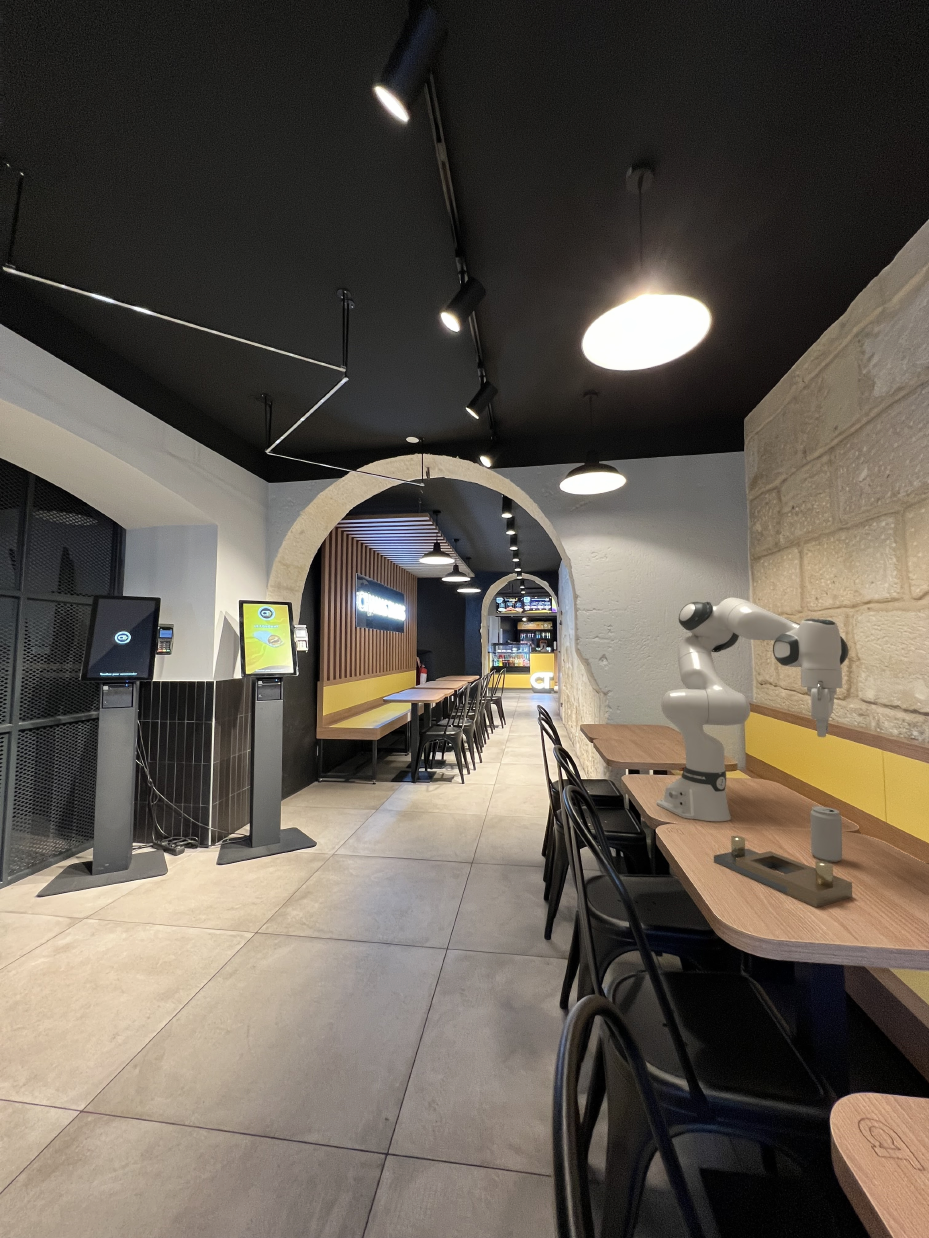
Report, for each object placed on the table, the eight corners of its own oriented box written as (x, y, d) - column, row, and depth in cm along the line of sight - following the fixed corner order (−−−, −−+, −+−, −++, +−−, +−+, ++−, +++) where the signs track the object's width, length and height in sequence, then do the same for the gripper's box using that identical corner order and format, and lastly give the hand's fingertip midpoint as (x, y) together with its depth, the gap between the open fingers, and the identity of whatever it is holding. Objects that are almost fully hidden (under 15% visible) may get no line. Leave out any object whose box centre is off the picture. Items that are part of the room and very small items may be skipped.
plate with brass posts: (713, 861, 125) (713, 832, 125) (747, 854, 130) (747, 826, 130) (816, 907, 103) (816, 871, 103) (852, 896, 108) (851, 862, 108)
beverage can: (847, 864, 125) (846, 814, 126) (818, 861, 126) (817, 811, 127) (834, 854, 131) (833, 806, 132) (806, 851, 132) (805, 804, 133)
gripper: (834, 682, 123) (836, 741, 122) (837, 680, 139) (839, 731, 138) (803, 681, 127) (804, 738, 126) (809, 679, 143) (811, 729, 142)
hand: (822, 734), depth 132 cm, fingers open, 8 cm apart
